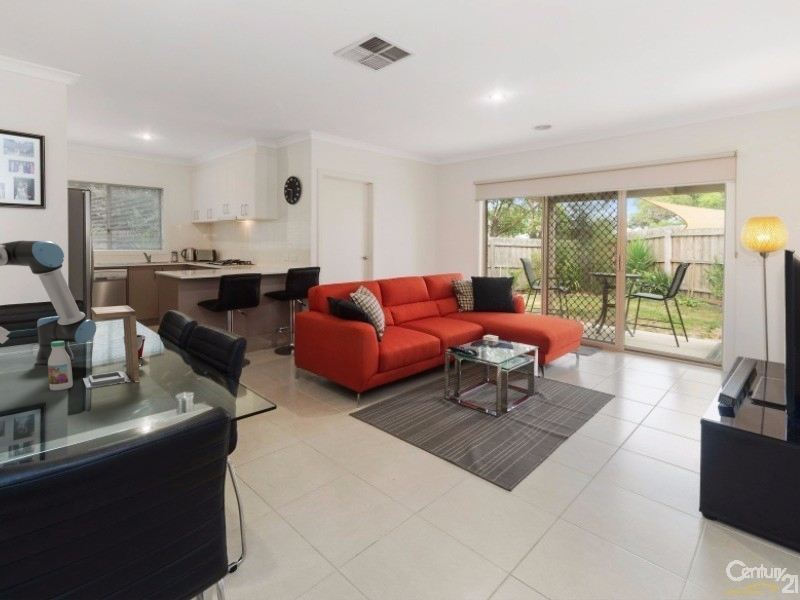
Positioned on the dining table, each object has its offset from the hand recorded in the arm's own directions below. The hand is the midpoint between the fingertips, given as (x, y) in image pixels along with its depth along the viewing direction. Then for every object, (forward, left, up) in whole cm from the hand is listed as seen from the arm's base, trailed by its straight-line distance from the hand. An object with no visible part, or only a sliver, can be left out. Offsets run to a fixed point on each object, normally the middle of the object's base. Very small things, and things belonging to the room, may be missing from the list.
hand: (6, 338), depth 169 cm
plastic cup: (-36, +48, -24) cm, 65 cm away
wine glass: (-21, +46, -24) cm, 55 cm away
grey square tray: (-1, +31, -24) cm, 39 cm away
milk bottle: (-1, +15, -24) cm, 28 cm away
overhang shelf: (-1, +35, -24) cm, 43 cm away
